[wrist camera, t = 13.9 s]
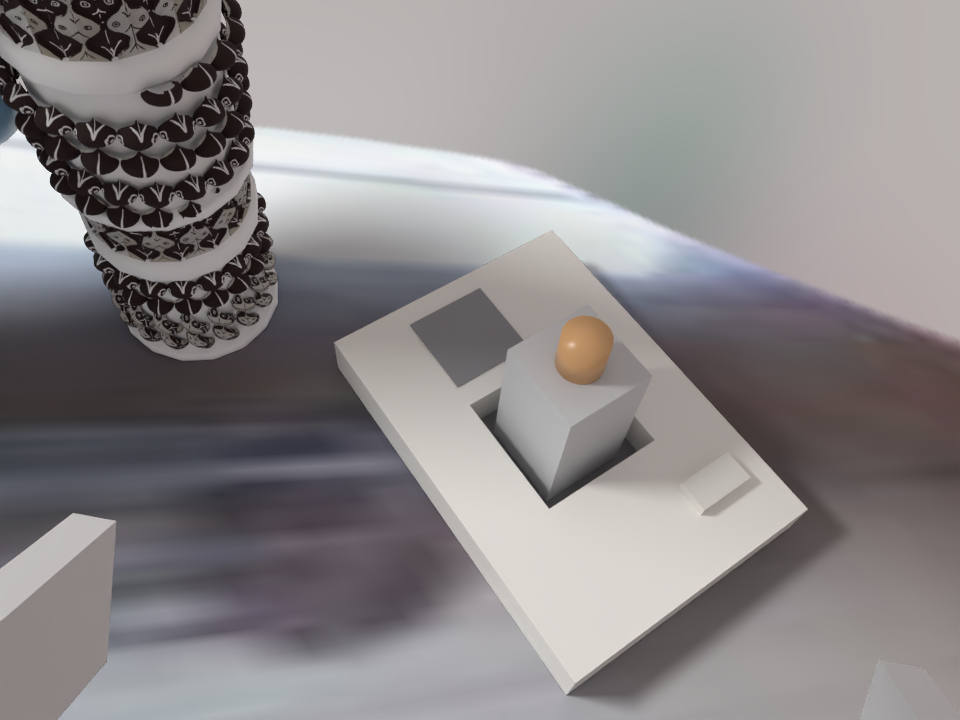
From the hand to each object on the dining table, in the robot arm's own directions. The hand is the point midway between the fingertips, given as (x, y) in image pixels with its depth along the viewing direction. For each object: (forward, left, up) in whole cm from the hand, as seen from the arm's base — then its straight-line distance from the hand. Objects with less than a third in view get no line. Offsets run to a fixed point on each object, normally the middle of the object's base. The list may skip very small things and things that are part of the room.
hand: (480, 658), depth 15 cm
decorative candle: (-28, +3, -24) cm, 37 cm away
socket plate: (-10, +14, -25) cm, 30 cm away
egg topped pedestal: (-10, +14, -24) cm, 30 cm away
